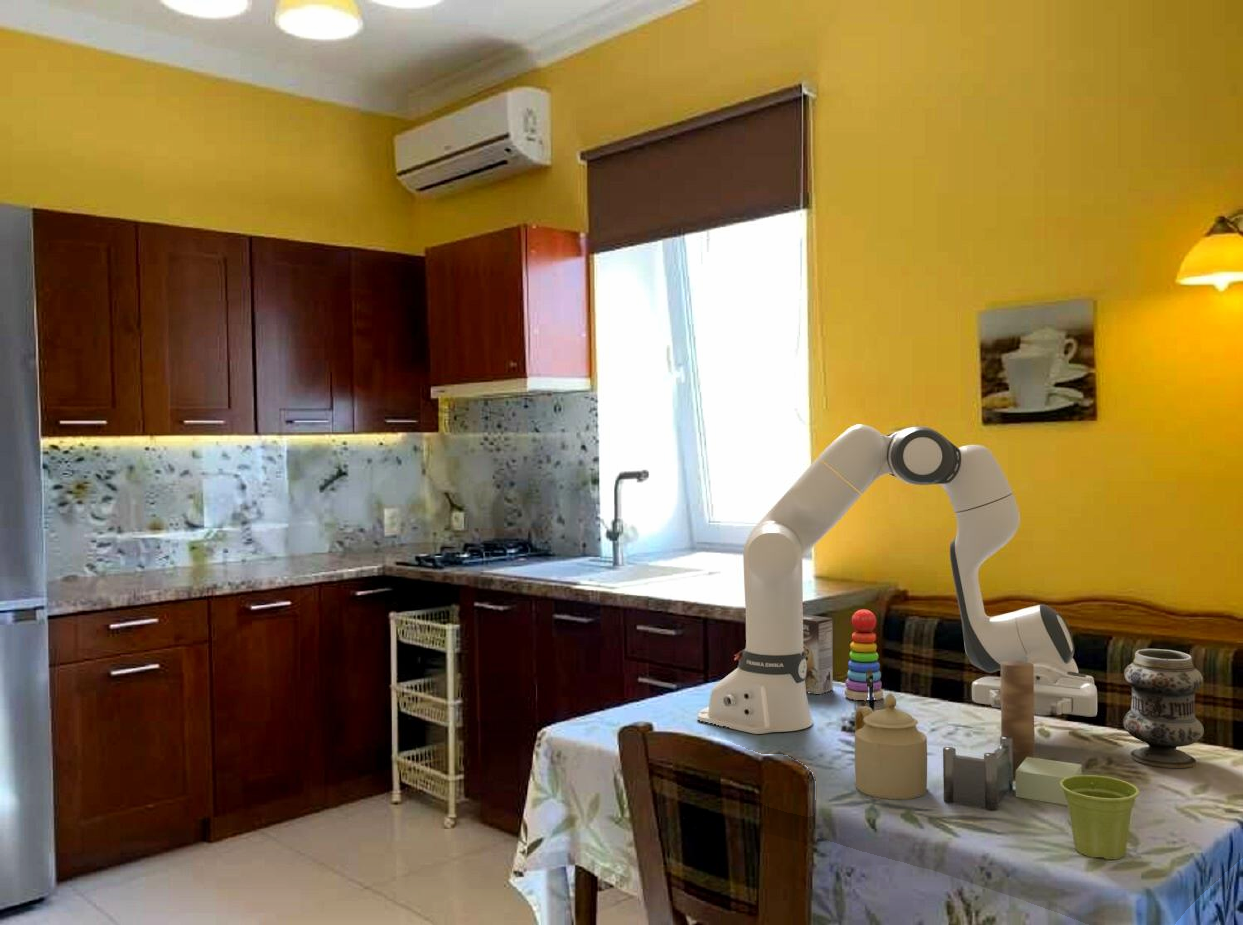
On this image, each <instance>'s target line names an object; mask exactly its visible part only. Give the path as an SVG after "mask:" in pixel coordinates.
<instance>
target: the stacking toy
mask: <svg viewBox="0 0 1243 925" xmlns="http://www.w3.org/2000/svg"><path fill="white" fill-rule="evenodd" d="M851 626H852V627H853V629H854V630H855V632H853V633H852V635H851V639H852V642H851V643H850V644H849V645H850V646H849V647H850V650H851V651H850V652H849V659H850V660H849V661H848V663H847V664H848V668H849V670H848V671H847V674H846V675H847V679H846V680H845V682H844V683H845V686H846V688H845V690H844V696H845V697H846V698H848V699H850V700H852V699H853V700H852V701H857V700H864V701H863V702H867V701H866V700H867V698H868V686H867V682H866V671H867V670H869V669H871V671H872V675H873V687H874V698H875V700H876V701H879V700H881V699H882V698H883V697H884V691H883V690H882V689H881V688H882V685H883V684H882V682H881V680H880V679H881V677H882V672H881V671H880V666H881V664H880V662H879V661H878V660H879V654H878V652H877V649H878V646H877V644H876V640H877V635H876V633H874V632H873V630H874V629H875V628H876V626H877V618H876V616H875V614H874V613H873V612H872V611H870V610H868V609H859V610H857V611H855V612H854V614H853V615H852V616H851Z"/></svg>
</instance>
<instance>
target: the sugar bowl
mask: <svg viewBox="0 0 1243 925" xmlns="http://www.w3.org/2000/svg"><path fill="white" fill-rule="evenodd" d="M883 705H884V706H885V708H882V709H877V710H873V709H872V708H871V707H869V706H866V705H864V706H863V705H862V706H860V707H858V708H857V709H856V710H855V714H854V730H855V732H854V774H855V775H854V780H855V783H854V784H855V787H856V789H857V790H858V791H859V792H861V793H862V794H865V795H867V796H871V797H874V798H878V799H884V800H885V799H886V800H911V799H916V798H919V797H922V796H923V795H925V794H926V792H927V789H928V741H927V735H926V734H925V733H924V732H922V731H920V730H918V728H917V725H918V724H919V721H918V720H917V719H916V718H915V717H912V715H911V714H910V713H908V712H906V711H903V710H899V709H895V707H896V706H897V699H896V697H895V696H894V694H892V693H891V692H890V693H887V695H886V696H885V697H884V700H883Z"/></svg>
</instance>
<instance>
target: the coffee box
mask: <svg viewBox="0 0 1243 925" xmlns="http://www.w3.org/2000/svg"><path fill="white" fill-rule="evenodd" d="M833 621H834V620H833V618H832V617H828V616H827V617H826V616H818V615H810V614H804V613H803V649H804V650H805V652H806V667H807V669H806V679H805V686H806V692H810V693H814V694H813V695H815V694H820V695H822V694H821V693H823V692H826V693H829V692H831V691H830V690H832V691H833V690H834V689H833V687H834V686H833V682H834V680H833V675H834V674H833V624H834V622H833ZM828 691H829V692H828ZM810 693H809V694H810ZM823 694H824V693H823Z"/></svg>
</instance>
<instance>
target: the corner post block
mask: <svg viewBox="0 0 1243 925" xmlns="http://www.w3.org/2000/svg"><path fill="white" fill-rule="evenodd" d="M942 759H943V760H942V762H943V763H942V766H943V767H942V769H943V771H942V772H943V773H942V774H943V776H942V777H943V780H942V782H943V802H944V803H946V804H953V805H955V804H956V805H959V806H965V807H966V806H967V807H973V808H976V809H977V808H978V809H982V810H983V809H984V810H987V811H995V812H996V811H997V810H998V806H999V805H1000V804H1001V803H1002V801H1003V800H1004V799H1005V798H1006V796H1008V793H1010V792H1012V791H1013V790H1014V779H1013V747H1012V737H1008V736H999V747H997V749H996V750H994V751H993V752H985V753H983V758H978V757H972V756H964V755H957V754H956V747H951V746H945V747H942Z"/></svg>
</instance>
